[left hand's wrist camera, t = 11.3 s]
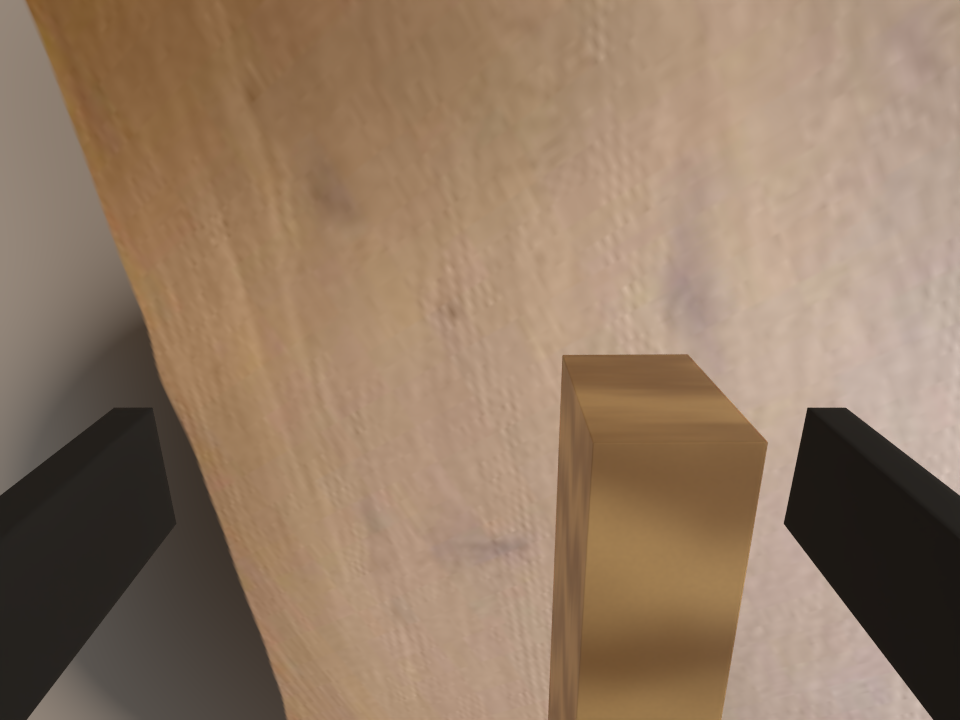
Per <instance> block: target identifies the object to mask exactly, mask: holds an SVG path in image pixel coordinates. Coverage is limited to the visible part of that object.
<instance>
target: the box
mask: <svg viewBox="0 0 960 720" xmlns="http://www.w3.org/2000/svg"><path fill="white" fill-rule="evenodd" d="M767 445H768V442H767V441H766V440H765V439H764V437H763V436H762V435H761V434H760V433H759V432H758V431H757V430H756V429H755V428H754V426H753V425H752V424H751V423H750V422H749V421H748V420H747V419H746V418H745V417H744V416H743V414H742V413H741V412H740V411H739V410H738V409H737V408H736V407H735V406H734V405H733V403H732V402H731V401H730V400H729V399H728V398H727V397H726V396H725V395H724V394H723V392H722V391H721V390H720V389H719V388H718V387H717V386H716V385H715V384H714V383H713V382H712V380H711V379H710V378H709V377H708V376H707V375H706V374H705V373H704V372H703V371H702V369H701V368H700V367H699V366H698V365H697V364H696V363H695V362H694V361H693V360H692V358H691V357H690V356H689V355H687V354H681V355H563V356H562V381H561V406H560V432H559V457H558V483H557V508H556V533H555V559H554V584H553V610H552V635H551V660H550V686H549V711H548V720H721V718H722V712H723V706H724V700H725V694H726V688H727V682H728V676H729V670H730V664H731V658H732V652H733V646H734V641H735V635H736V629H737V623H738V617H739V611H740V605H741V599H742V593H743V587H744V581H745V575H746V569H747V563H748V558H749V552H750V546H751V540H752V534H753V528H754V522H755V516H756V510H757V504H758V498H759V492H760V486H761V480H762V474H763V469H764V463H765V457H766V451H767Z"/></svg>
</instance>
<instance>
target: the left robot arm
mask: <svg viewBox="0 0 960 720" xmlns="http://www.w3.org/2000/svg"><path fill="white" fill-rule="evenodd" d="M175 525H176V520H175V515H174V511H173V506H172V501H171V496H170V491H169V486H168V481H167V476H166V472H165V467H164V462H163V457H162V452H161V447H160V442H159V437H158V433H157V428H156V423H155V418H154V413H153V408H113V409H112V410H111V411H109V412H108V413H107V414H106V415H104V416H103V417H102V418H100V419H99V420H98V421H96V422H95V423H94V424H93V425H91V426H90V427H89V428H87V429H86V430H85V431H84V432H82V433H81V434H80V435H78V436H77V437H76V438H74V439H73V440H72V441H71V442H69V443H68V444H67V445H65V446H64V447H63V448H61V449H60V450H59V451H58V452H56V453H55V454H54V455H52V456H51V457H50V458H48V459H47V460H46V461H45V462H43V463H42V464H41V465H39V466H38V467H37V468H36V469H34V470H33V471H32V472H30V473H29V474H28V475H26V476H25V477H24V478H23V479H21V480H20V481H19V482H17V483H16V484H15V485H13V486H12V487H11V488H10V489H8V490H7V491H6V492H4V493H3V494H2V495H1V496H0V720H27V719H28V717H29V716H30V715H31V713H32V712H33V711H34V709H35V708H36V707H37V705H38V704H39V703H40V702H41V700H42V699H43V698H44V696H45V695H46V694H47V692H48V691H49V690H50V688H51V687H52V686H53V684H54V683H55V682H56V681H57V679H58V678H59V677H60V675H61V674H62V673H63V671H64V670H65V669H66V667H67V666H68V665H69V663H70V662H71V661H72V660H73V658H74V657H75V656H76V654H77V653H78V652H79V650H80V649H81V648H82V646H83V645H84V644H85V643H86V641H87V640H88V639H89V637H90V636H91V635H92V633H93V632H94V631H95V629H96V628H97V627H98V626H99V624H100V623H101V622H102V620H103V619H104V618H105V616H106V615H107V614H108V612H109V611H110V610H111V608H112V607H113V606H114V605H115V603H116V602H117V601H118V599H119V598H120V597H121V595H122V594H123V593H124V591H125V590H126V589H127V588H128V586H129V585H130V584H131V582H132V581H133V580H134V578H135V577H136V576H137V574H138V573H139V572H140V570H141V569H142V568H143V567H144V565H145V564H146V563H147V561H148V560H149V559H150V557H151V556H152V555H153V553H154V552H155V551H156V549H157V548H158V547H159V546H160V544H161V543H162V542H163V540H164V539H165V538H166V536H167V535H168V534H169V532H170V531H171V530H172V529H173V527H174V526H175ZM784 525H785V526H786V527H787V529H788V530H789V531H790V532H791V534H792V535H793V536H794V538H795V539H796V540H797V542H798V543H799V544H800V546H801V547H802V548H803V550H804V551H805V552H806V553H807V555H808V556H809V557H810V559H811V560H812V561H813V563H814V564H815V565H816V567H817V568H818V569H819V570H820V572H821V573H822V574H823V576H824V577H825V578H826V580H827V581H828V582H829V584H830V585H831V586H832V588H833V589H834V590H835V591H836V593H837V594H838V595H839V597H840V598H841V599H842V601H843V602H844V603H845V605H846V606H847V607H848V608H849V610H850V611H851V612H852V614H853V615H854V616H855V618H856V619H857V620H858V622H859V623H860V624H861V626H862V627H863V628H864V629H865V631H866V632H867V633H868V635H869V636H870V637H871V639H872V640H873V641H874V643H875V644H876V645H877V647H878V648H879V649H880V650H881V652H882V653H883V654H884V656H885V657H886V658H887V660H888V661H889V662H890V664H891V665H892V666H893V667H894V669H895V670H896V671H897V673H898V674H899V675H900V677H901V678H902V679H903V681H904V682H905V683H906V685H907V686H908V687H909V688H910V690H911V691H912V692H913V694H914V695H915V696H916V698H917V699H918V700H919V702H920V703H921V704H922V705H923V707H924V708H925V709H926V711H927V712H928V713H929V715H930V716H931V717H932V719H933V720H960V495H958V494H957V493H956V492H954V491H953V490H952V489H950V488H949V487H948V486H947V485H945V484H944V483H943V482H941V481H940V480H939V479H937V478H936V477H935V476H934V475H932V474H931V473H930V472H928V471H927V470H926V469H925V468H923V467H922V466H921V465H919V464H918V463H917V462H915V461H914V460H913V459H912V458H910V457H909V456H908V455H906V454H905V453H904V452H902V451H901V450H900V449H899V448H897V447H896V446H895V445H893V444H892V443H891V442H890V441H888V440H887V439H886V438H884V437H883V436H882V435H880V434H879V433H878V432H877V431H875V430H874V429H873V428H871V427H870V426H869V425H867V424H866V423H865V422H864V421H862V420H861V419H860V418H858V417H857V416H856V415H855V414H853V413H852V412H851V411H849V410H848V409H847V408H807V413H806V418H805V423H804V428H803V432H802V437H801V442H800V447H799V452H798V457H797V462H796V467H795V472H794V476H793V481H792V486H791V491H790V496H789V501H788V506H787V511H786V515H785V520H784Z"/></svg>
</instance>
